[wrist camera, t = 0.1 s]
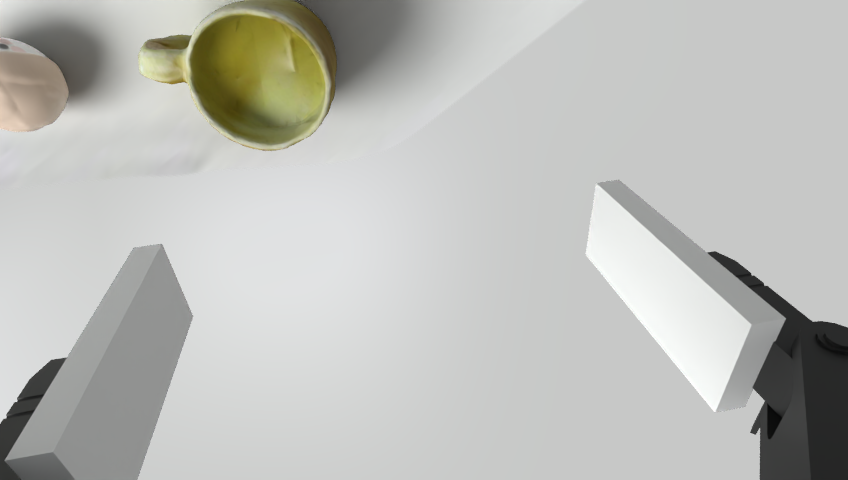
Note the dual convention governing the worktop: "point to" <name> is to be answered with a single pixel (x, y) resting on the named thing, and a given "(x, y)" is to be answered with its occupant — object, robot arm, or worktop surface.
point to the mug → (252, 71)
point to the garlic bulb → (29, 88)
